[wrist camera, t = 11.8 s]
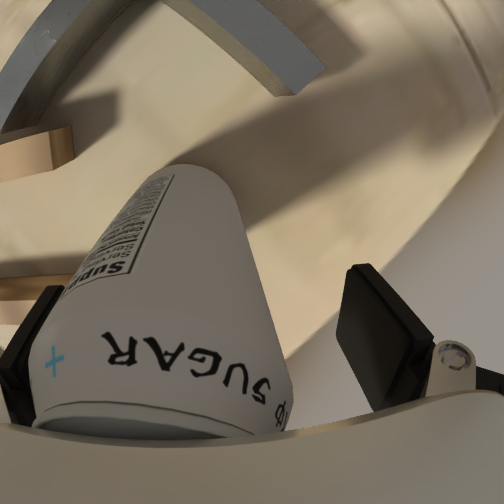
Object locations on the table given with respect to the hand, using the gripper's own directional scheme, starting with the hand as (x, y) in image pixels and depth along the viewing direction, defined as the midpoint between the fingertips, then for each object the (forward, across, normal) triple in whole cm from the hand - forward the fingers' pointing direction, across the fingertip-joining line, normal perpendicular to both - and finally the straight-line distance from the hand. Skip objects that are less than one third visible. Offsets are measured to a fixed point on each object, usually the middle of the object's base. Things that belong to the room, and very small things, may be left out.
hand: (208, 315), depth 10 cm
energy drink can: (+10, +1, 0) cm, 10 cm away
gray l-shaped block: (+9, +3, -12) cm, 15 cm away
